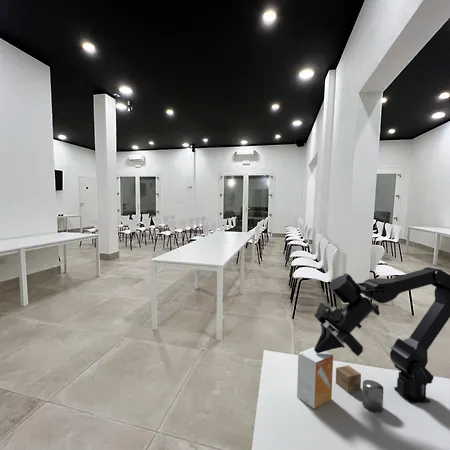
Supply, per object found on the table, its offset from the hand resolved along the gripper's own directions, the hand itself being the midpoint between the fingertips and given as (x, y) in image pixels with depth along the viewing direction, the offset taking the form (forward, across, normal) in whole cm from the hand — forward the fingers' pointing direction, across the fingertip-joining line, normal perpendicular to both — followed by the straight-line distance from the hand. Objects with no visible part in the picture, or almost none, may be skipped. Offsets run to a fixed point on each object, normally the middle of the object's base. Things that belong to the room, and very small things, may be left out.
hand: (315, 351), depth 75 cm
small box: (+10, 0, +10) cm, 14 cm away
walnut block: (0, -5, +19) cm, 20 cm away
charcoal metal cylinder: (-1, +4, +20) cm, 21 cm away
